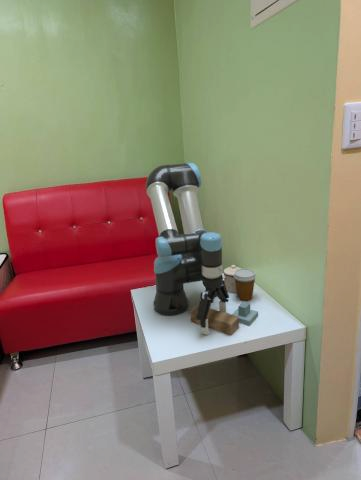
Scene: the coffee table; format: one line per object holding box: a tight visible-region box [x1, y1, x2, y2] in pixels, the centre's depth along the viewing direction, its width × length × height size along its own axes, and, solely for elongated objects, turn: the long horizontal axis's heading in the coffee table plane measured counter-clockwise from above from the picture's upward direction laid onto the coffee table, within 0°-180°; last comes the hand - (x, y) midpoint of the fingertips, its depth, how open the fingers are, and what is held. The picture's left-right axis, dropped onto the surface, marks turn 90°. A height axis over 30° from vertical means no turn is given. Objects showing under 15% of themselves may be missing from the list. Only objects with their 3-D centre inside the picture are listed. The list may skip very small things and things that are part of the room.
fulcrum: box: [231, 301, 259, 327], centre depth 138 cm, size 8×8×6 cm
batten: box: [189, 304, 240, 336], centre depth 135 cm, size 18×6×5 cm, turn 54°
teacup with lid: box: [222, 264, 242, 294], centre depth 160 cm, size 12×9×12 cm
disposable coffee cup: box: [234, 268, 257, 302], centre depth 152 cm, size 10×10×12 cm
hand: (214, 324), depth 135 cm, fingers open, 13 cm apart
